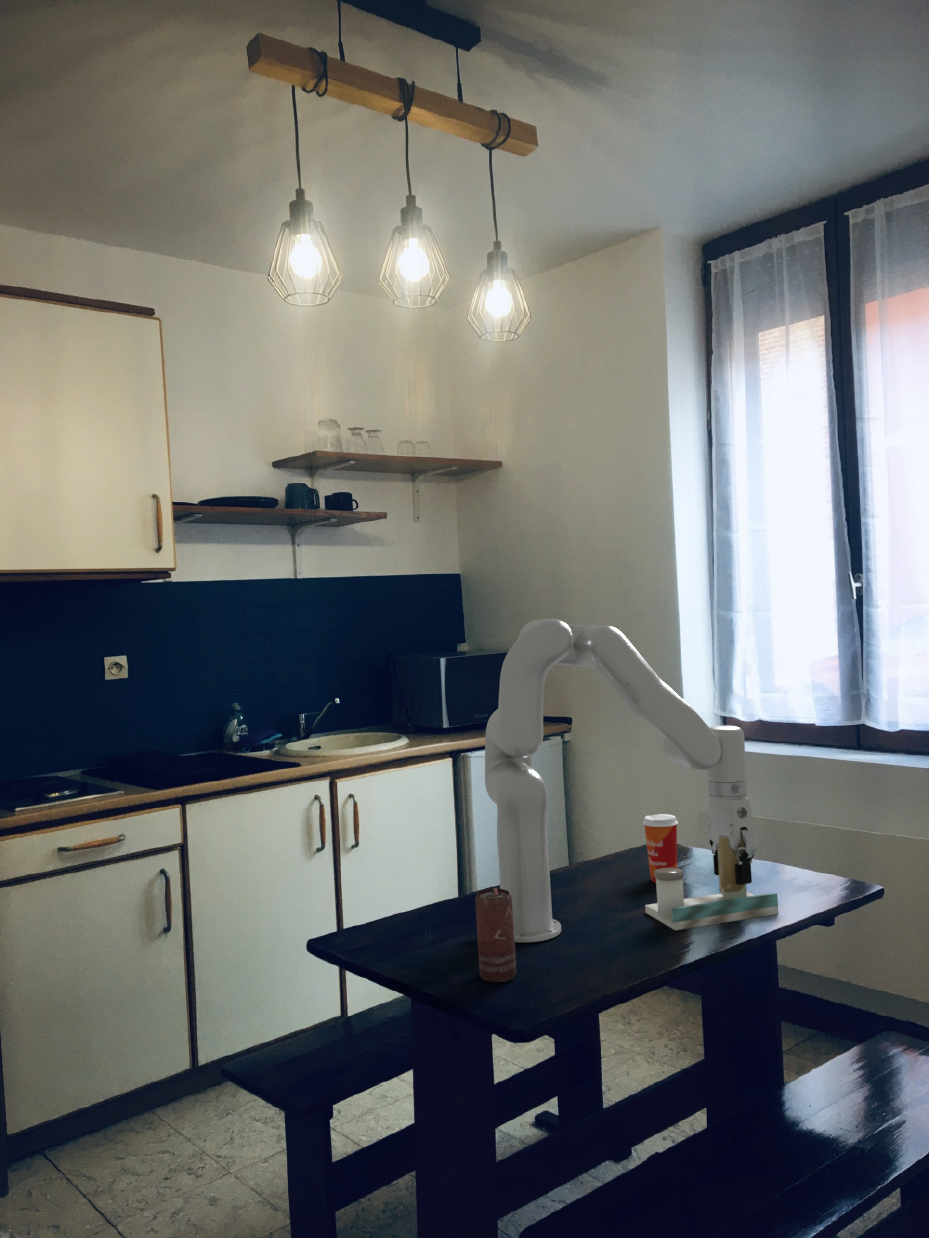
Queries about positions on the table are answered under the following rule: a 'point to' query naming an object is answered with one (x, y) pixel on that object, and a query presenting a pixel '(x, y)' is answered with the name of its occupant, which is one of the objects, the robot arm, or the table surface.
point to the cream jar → (669, 890)
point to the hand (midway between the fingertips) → (732, 878)
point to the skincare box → (729, 870)
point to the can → (495, 935)
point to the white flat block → (716, 910)
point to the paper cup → (661, 842)
